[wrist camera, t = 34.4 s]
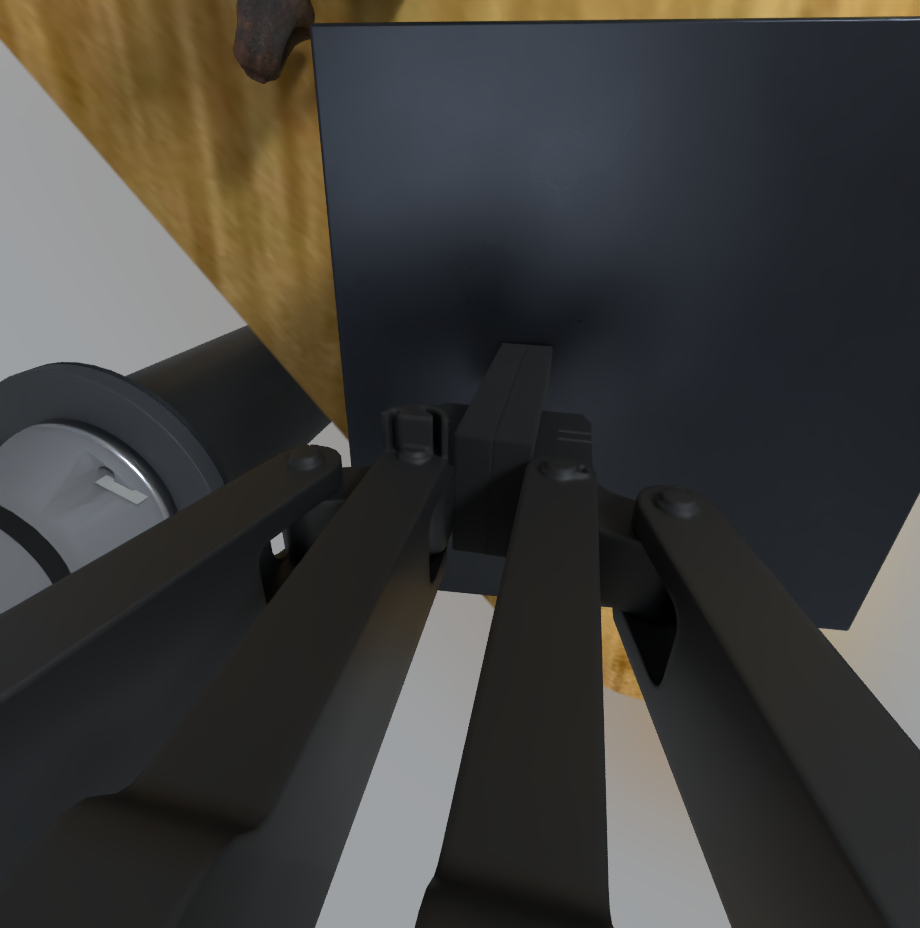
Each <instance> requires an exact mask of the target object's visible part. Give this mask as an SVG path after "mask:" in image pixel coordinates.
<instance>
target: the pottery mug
mask: <svg viewBox="0 0 920 928" xmlns="http://www.w3.org/2000/svg"><path fill="white" fill-rule="evenodd" d="M314 20H315V14H314V9H313V7H312V5H311V2H310V0H237V29H236V37H235V43H234V46H233V52H234V56H235V58H236V60H237V61H238V62H239V64H240V66H241V67H242V68H243V70H244V71H245V73H246V74H247V76H249V77H250V78H251V79H253V80H255V81H257V82H259V83H262V84H265V83H267V82H269V81H273V80H276V79H278V78H279V76H280V74H281V72H282V70H283V67H284V65H285V63H286V61H287V59H288V57H289V55H290V53H291V51H292V50H293V48H294V47H295V46H296V45H297V44H299V43H300V42H303V41H305V40H308V39H311V37H310V24H312V23H314Z"/></svg>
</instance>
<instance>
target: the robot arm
mask: <svg viewBox="0 0 920 928" xmlns="http://www.w3.org/2000/svg"><path fill="white" fill-rule="evenodd" d="M552 351H553V347H551V346H538V345H525V344H511V343H502V345H501V346H500V348H499V350H498V352H497V354H496V356H495V358H494V360H493V362H492V363H491V365H490V367H489V369H488V371H487V373H486V375H485V377H484V379H483V380H482V382H481V384H480V386H479V388H478V390H477V392H476V394H475V396H474V397H473V399H472V401H471V403H470V405H464V404H454V403H442V404H440V405H438V406H434V405H428V404H419V403H409V404H402V405H396V406H393V407H390V408H388V409H386V410H385V411H383V412H382V413H381V420H382V437H383V452H382V453H381V455H380V456H379V457H378V459H377V460H376V461H375V463H374V464H373V465H372V466H363V467H343V468H342V461H341V455H340V454H339V453H338V452H337V451H336V450H334V449H332V448H329V447H324V446H319V445H310V446H309V445H302V446H300V447H296V448H292V449H289V450H287V451H284V452H282V453H280V454H278V455H276V456H274V457H273V458H271V459H269V460H267V461H266V462H264V463H262V464H260V465H259V466H257V467H255V468H254V469H252V470H250V471H248V472H247V473H245V474H243V475H241V476H240V477H238V478H236V479H234V480H233V481H231V482H229V483H227V484H226V485H224V486H222V487H221V488H219V489H217V490H215V491H214V492H212V493H210V494H208V495H207V496H205V497H203V498H201V499H200V500H198V501H196V502H194V503H193V504H191V505H189V506H188V507H186V508H184V509H182V510H181V511H179V512H178V511H177V508H176V505H175V503H174V500H173V498H172V496H171V494H170V492H169V490H168V489H167V487H166V486H165V484H164V482H163V481H162V480H161V478H160V477H159V475H158V474H157V473H156V472H155V470H154V469H153V468H152V467H151V466H150V465H149V464H148V463H147V462H146V461H145V459H144V458H142V457H141V456H140V455H139V454H138V453H137V452H136V451H135V450H133V449H132V448H131V447H130V446H129V445H127V444H126V443H124V442H123V441H122V440H120V439H119V438H117V437H115V436H114V435H112V434H110V433H108V432H107V431H105V430H103V429H101V428H98V427H96V426H94V425H91V424H88V423H85V422H81V421H78V420H72V419H62V418H59V419H49V420H45V421H42V422H39V423H37V424H35V425H32V426H30V427H28V428H26V429H23V430H21V431H19V432H18V433H16V434H15V435H14V436H12V437H11V438H9V439H8V440H7V441H6V442H5V443H3V444H2V445H1V447H0V928H315V925H316V923H317V920H318V917H319V915H320V912H321V909H322V906H323V904H324V901H325V898H326V895H327V893H328V890H329V887H330V884H331V882H332V879H333V876H334V873H335V871H336V868H337V865H338V862H339V860H340V857H341V854H342V851H343V849H344V846H345V843H346V840H347V838H348V835H349V832H350V829H351V827H352V824H353V821H354V818H355V816H356V813H357V810H358V807H359V805H360V802H361V799H362V796H363V794H364V791H365V788H366V785H367V783H368V780H369V777H370V774H371V772H372V769H373V766H374V763H375V761H376V758H377V755H378V752H379V749H380V747H381V744H382V741H383V739H384V736H385V733H386V730H387V728H388V725H389V722H390V719H391V717H392V714H393V711H394V708H395V706H396V703H397V700H398V697H399V695H400V692H401V689H402V686H403V684H404V681H405V678H406V675H407V673H408V670H409V667H410V664H411V662H412V659H413V656H414V653H415V651H416V648H417V645H418V642H419V639H420V637H421V634H422V631H423V629H424V626H425V623H426V620H427V618H428V615H429V612H430V609H431V607H432V604H433V601H434V598H435V596H436V593H437V590H438V587H439V585H440V582H441V579H442V576H443V574H444V571H445V568H446V565H447V544H448V541H449V539H450V536H451V533H452V550H459V551H466V552H472V553H479V554H486V555H493V556H499V557H506V560H505V564H504V569H503V573H502V578H501V583H500V587H499V592H498V596H497V601H496V605H495V610H494V615H493V619H492V623H491V628H490V632H489V637H488V641H487V646H486V650H485V655H484V660H483V664H482V668H481V673H480V678H479V682H478V687H477V691H476V696H475V701H474V705H473V709H472V714H471V718H470V723H469V727H468V732H467V737H466V741H465V745H464V750H463V754H462V759H461V763H460V768H459V773H458V777H457V781H456V786H455V791H454V795H453V800H452V804H451V809H450V813H449V818H448V822H447V827H446V831H445V836H444V840H443V845H442V849H441V853H440V857H439V861H438V866H437V868H436V872H435V875H434V877H433V879H432V880H431V882H430V883H429V885H428V886H427V888H426V892H425V894H424V897H423V900H422V904H421V906H420V909H419V913H418V917H417V921H416V925H415V928H614V927H613V925H612V921H611V915H610V906H609V888H608V856H607V855H608V851H607V817H606V779H605V745H604V709H603V672H602V636H601V603H604V604H606V605H609V606H611V607H613V609H612V610H613V619H614V622H615V624H616V627H617V630H618V632H619V635H620V637H621V640H622V643H623V645H624V648H625V650H626V653H627V656H628V658H629V661H630V663H631V666H632V669H633V671H634V674H635V677H636V679H637V682H638V684H639V687H640V690H641V692H642V695H643V697H644V700H645V703H646V705H647V708H648V710H649V713H650V716H651V718H652V721H653V724H654V726H655V729H656V731H657V734H658V737H659V739H660V742H661V744H662V747H663V749H664V752H665V755H666V757H667V760H668V763H669V765H670V768H671V770H672V773H673V775H674V778H675V781H676V784H677V786H678V789H679V791H680V794H681V797H682V799H683V801H684V804H685V807H686V809H687V812H688V815H689V817H690V820H691V823H692V825H693V828H694V830H695V833H696V835H697V838H698V841H699V844H700V846H701V849H702V851H703V854H704V857H705V859H706V862H707V864H708V867H709V869H710V872H711V875H712V877H713V880H714V883H715V885H716V888H717V891H718V893H719V896H720V898H721V901H722V904H723V906H724V909H725V911H726V914H727V917H728V919H729V922H730V924H731V927H732V928H920V750H919V749H918V747H917V746H916V745H915V744H914V743H913V742H912V740H911V739H910V738H909V737H908V735H907V734H906V733H905V732H904V731H903V729H902V728H901V727H900V726H899V725H898V723H897V722H896V721H895V720H894V719H893V717H892V716H891V715H890V714H889V713H888V711H887V710H886V709H885V708H884V707H883V705H882V704H881V703H880V702H879V701H878V699H877V698H876V697H875V696H874V695H873V693H872V692H871V691H870V690H869V689H868V687H867V686H866V685H865V684H864V683H863V681H862V680H861V679H860V678H859V677H858V675H857V674H856V673H855V672H854V671H853V669H852V668H851V667H850V666H849V665H848V664H847V662H846V661H845V660H844V659H843V657H842V656H841V655H840V654H839V652H838V651H837V650H836V649H835V648H834V646H833V645H832V644H831V643H830V642H829V640H827V638H826V637H825V636H824V635H823V633H822V632H821V631H820V630H819V628H818V627H817V626H816V625H815V624H814V622H813V621H812V620H811V619H810V618H809V616H808V615H807V614H806V613H805V612H804V610H803V609H802V608H801V607H800V606H799V604H798V603H797V602H796V601H795V600H794V598H793V597H792V596H791V595H790V594H789V592H788V591H787V590H786V589H785V588H784V586H783V585H782V584H781V583H780V582H779V580H778V579H777V578H776V577H775V576H774V574H773V573H772V572H771V571H770V570H769V568H768V567H767V566H766V565H765V564H764V562H763V561H762V560H761V559H760V558H759V556H758V555H757V554H756V553H755V552H754V550H753V549H752V548H751V547H750V546H749V544H748V543H747V542H746V541H745V540H744V538H743V537H742V536H741V535H740V534H739V532H738V531H737V530H736V529H735V528H734V526H733V525H732V524H731V523H730V522H729V520H728V519H727V518H726V517H725V516H724V514H723V513H722V512H721V511H720V509H719V508H718V507H717V506H716V505H715V504H714V503H713V502H712V501H711V500H709V499H708V498H707V497H706V496H704V495H702V494H699V493H697V492H695V491H694V490H692V489H689V488H686V487H685V488H683V486H678V485H654V486H649V487H646V488H644V489H642V490H640V492H639V494H638V495H637V497H636V500H632V499H629V498H626V497H623V496H620V495H617V494H614V493H612V492H610V491H608V490H607V489H605V488H603V487H602V486H601V485H600V484H598V483H597V474H596V472H595V470H594V468H592V424H591V423H590V422H589V421H588V419H587V418H586V417H585V416H584V415H582V414H572V413H562V412H551V411H546V408H547V398H548V389H549V379H550V370H551V360H552ZM281 532H282V533H283V538H284V544H285V549H284V550H283V551H281V552H280V553H278V554H276V555H274V554H273V553H272V548H271V543H270V540H271V539H273V538H274V537H276V536H277V535H278V534H279V533H281Z"/></svg>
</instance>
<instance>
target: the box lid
mask: <svg viewBox="0 0 920 928" xmlns="http://www.w3.org/2000/svg"><path fill="white" fill-rule="evenodd" d="M310 37H311V47H312V58H313V68H314V79H315V89H316V100H317V110H318V121H319V131H320V142H321V152H322V163H323V173H324V184H325V194H326V205H327V215H328V226H329V236H330V247H331V257H332V268H333V278H334V289H335V299H336V310H337V320H338V331H339V341H340V352H341V362H342V373H343V383H344V394H345V404H346V415H347V425H348V436H349V446H350V457H351V467H363V466H372V465H373V464H374V463H375V461H376V460H377V459H378V457H379V456H380V455H381V453H382V452H383V437H382V420H381V413H382V412H383V411H385V410H386V409H388V408H390V407H393V406H396V405H402V404H409V403H419V404H428V405H434V406H438V405H440V404H442V403H454V404H464V405H470V403H471V401H472V399H473V397H474V396H475V394H476V392H477V390H478V388H479V386H480V384H481V382H482V380H483V379H484V377H485V375H486V373H487V371H488V369H489V367H490V365H491V363H492V362H493V360H494V358H495V356H496V354H497V352H498V350H499V348H500V346H501V345H502V343H511V344H525V345H538V346H551V347H553V351H552V360H551V370H550V379H549V389H548V398H547V408H546V411H551V412H562V413H572V414H582V415H584V416H585V417H586V418H587V419H588V421H589V422H590V423H591V424H592V468H594V470H595V472H596V474H597V483H598V484H600V485H601V486H602V487H603V488H605V489H607V490H608V491H610V492H612V493H614V494H617V495H620V496H623V497H626V498H629V499H632V500H636V497H637V495H638V494H639V492H640V490H642V489H644V488H646V487H649V486H654V485H678V486H683V488H685V487H686V488H689V489H692V490H694V491H695V492H697V493H699V494H702V495H704V496H706V497H707V498H708V499H709V500H711V501H712V502H713V503H714V504H715V505H716V506H717V507H718V508H719V509H720V511H721V512H722V513H723V514H724V516H725V517H726V518H727V519H728V520H729V522H730V523H731V524H732V525H733V526H734V528H735V529H736V530H737V531H738V532H739V534H740V535H741V536H742V537H743V538H744V540H745V541H746V542H747V543H748V544H749V546H750V547H751V548H752V549H753V550H754V552H755V553H756V554H757V555H758V556H759V558H760V559H761V560H762V561H763V562H764V564H765V565H766V566H767V567H768V568H769V570H770V571H771V572H772V573H773V574H774V576H775V577H776V578H777V579H778V580H779V582H780V583H781V584H782V585H783V586H784V588H785V589H786V590H787V591H788V592H789V594H790V595H791V596H792V597H793V598H794V600H795V601H796V602H797V603H798V604H799V606H800V607H801V608H802V609H803V610H804V612H805V613H806V614H807V615H808V616H809V618H810V619H811V620H812V621H813V622H814V624H815V625H816V626H817V627H818V628H826V629H835V630H844V631H847V630H849V628H850V626H851V624H852V622H853V621H854V619H855V617H856V615H857V612H858V611H859V609H860V607H861V605H862V603H863V601H864V599H865V597H866V596H867V594H868V592H869V590H870V588H871V586H872V584H873V582H874V580H875V578H876V576H877V574H878V572H879V570H880V568H881V566H882V565H883V563H884V561H885V559H886V556H887V555H888V553H889V551H890V549H891V547H892V545H893V544H894V541H895V540H896V538H897V535H898V534H899V532H900V530H901V528H902V526H903V524H904V522H905V520H906V518H907V517H908V515H909V513H910V511H911V509H912V507H913V505H914V503H915V501H916V499H917V497H918V495H919V493H920V16H896V17H808V18H719V19H630V20H542V21H453V22H364V23H312V24H310ZM505 560H506V557H499V556H493V555H486V554H479V553H472V552H466V551H459V550H452V533H451V536H450V539H449V541H448V544H447V565H446V568H445V571H444V574H443V576H442V579H441V582H440V585H439V587H438V590H440V591H450V592H460V593H471V594H481V595H491V596H498V592H499V587H500V583H501V578H502V573H503V569H504V564H505ZM601 606H602V607H611V606H609V605H606V604H604V603H601ZM612 608H613V607H612Z"/></svg>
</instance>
